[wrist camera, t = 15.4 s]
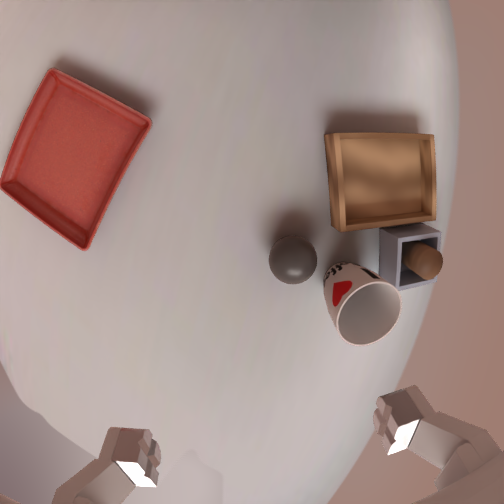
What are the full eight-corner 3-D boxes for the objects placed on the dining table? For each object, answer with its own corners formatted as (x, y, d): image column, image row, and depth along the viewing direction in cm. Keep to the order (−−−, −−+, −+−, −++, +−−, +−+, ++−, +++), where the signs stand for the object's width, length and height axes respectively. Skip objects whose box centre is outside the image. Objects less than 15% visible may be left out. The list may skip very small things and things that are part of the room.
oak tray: (323, 135, 34) (333, 133, 30) (419, 135, 34) (433, 134, 31) (331, 225, 37) (340, 232, 34) (421, 214, 38) (435, 220, 34)
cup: (357, 241, 38) (394, 268, 29) (373, 289, 41) (407, 324, 31) (303, 268, 39) (326, 304, 29) (324, 315, 41) (347, 357, 32)
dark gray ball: (263, 233, 37) (269, 247, 31) (308, 227, 37) (322, 240, 32) (268, 276, 39) (274, 295, 33) (311, 269, 39) (323, 288, 33)
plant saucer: (9, 184, 32) (-4, 187, 29) (61, 70, 28) (49, 65, 25) (96, 246, 36) (86, 254, 33) (162, 124, 32) (155, 121, 29)
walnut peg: (396, 239, 38) (419, 253, 32) (418, 234, 38) (443, 247, 32) (396, 266, 39) (418, 283, 33) (418, 260, 39) (441, 275, 33)
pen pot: (379, 228, 38) (398, 238, 33) (421, 222, 38) (441, 231, 33) (378, 277, 40) (395, 291, 35) (418, 269, 40) (436, 281, 35)
